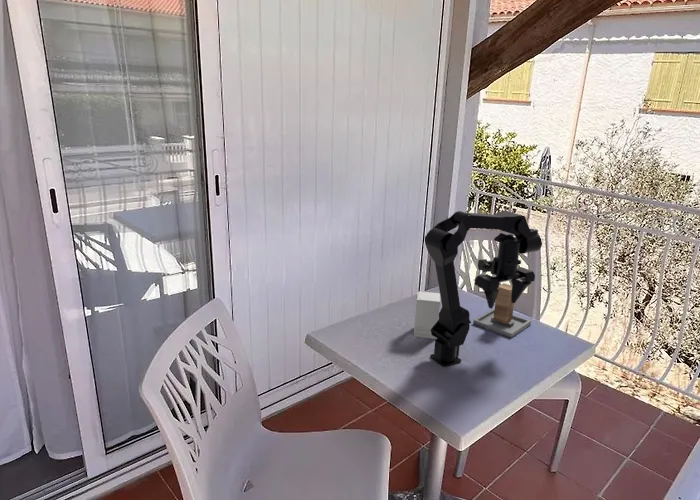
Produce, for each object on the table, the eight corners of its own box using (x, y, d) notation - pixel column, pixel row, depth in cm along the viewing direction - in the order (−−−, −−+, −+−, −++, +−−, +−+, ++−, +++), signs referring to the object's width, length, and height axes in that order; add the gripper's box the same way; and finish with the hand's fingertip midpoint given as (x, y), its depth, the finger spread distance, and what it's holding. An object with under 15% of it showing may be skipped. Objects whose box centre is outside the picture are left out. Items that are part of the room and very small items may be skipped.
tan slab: (508, 328, 158) (513, 291, 154) (489, 321, 163) (493, 285, 159) (515, 324, 161) (520, 287, 157) (495, 317, 166) (500, 282, 162)
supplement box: (437, 339, 151) (440, 302, 147) (413, 336, 152) (415, 299, 149) (437, 328, 158) (440, 292, 154) (415, 326, 159) (417, 290, 156)
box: (511, 338, 153) (511, 333, 152) (473, 323, 162) (473, 319, 161) (530, 324, 162) (531, 320, 162) (493, 312, 171) (494, 308, 171)
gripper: (510, 244, 151) (504, 290, 156) (464, 251, 143) (459, 301, 147) (539, 254, 142) (532, 303, 146) (491, 263, 133) (485, 315, 138)
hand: (501, 305), depth 145 cm, fingers open, 9 cm apart
